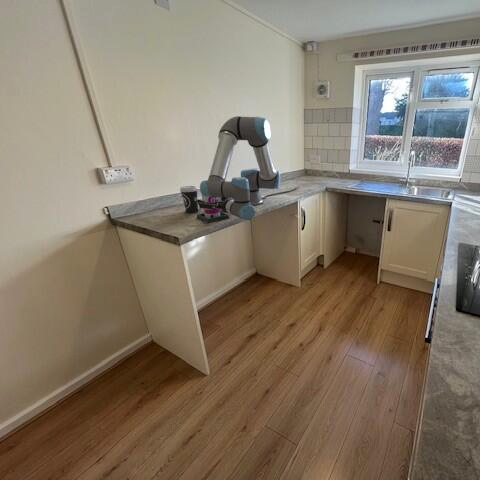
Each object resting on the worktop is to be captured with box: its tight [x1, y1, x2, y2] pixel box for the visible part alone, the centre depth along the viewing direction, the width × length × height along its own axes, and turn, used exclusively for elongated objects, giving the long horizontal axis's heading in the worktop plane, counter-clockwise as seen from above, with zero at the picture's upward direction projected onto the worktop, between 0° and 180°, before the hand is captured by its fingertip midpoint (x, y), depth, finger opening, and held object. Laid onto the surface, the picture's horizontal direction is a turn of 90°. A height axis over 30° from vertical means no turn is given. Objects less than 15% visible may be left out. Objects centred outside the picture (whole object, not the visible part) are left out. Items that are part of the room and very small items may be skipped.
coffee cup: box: [179, 185, 199, 214], centre depth 155 cm, size 10×10×15 cm
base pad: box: [196, 211, 230, 224], centre depth 146 cm, size 13×13×2 cm
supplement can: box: [201, 194, 220, 219], centre depth 143 cm, size 8×8×15 cm
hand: (210, 199), depth 143 cm, fingers open, 13 cm apart
